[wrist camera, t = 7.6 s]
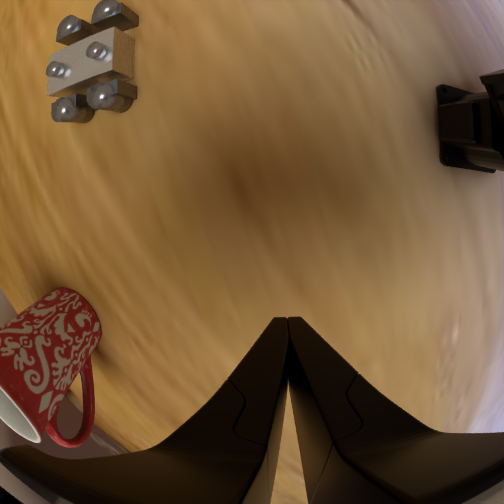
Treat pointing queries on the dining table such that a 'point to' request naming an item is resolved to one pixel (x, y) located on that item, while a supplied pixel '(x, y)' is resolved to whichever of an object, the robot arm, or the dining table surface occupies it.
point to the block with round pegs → (91, 63)
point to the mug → (47, 365)
